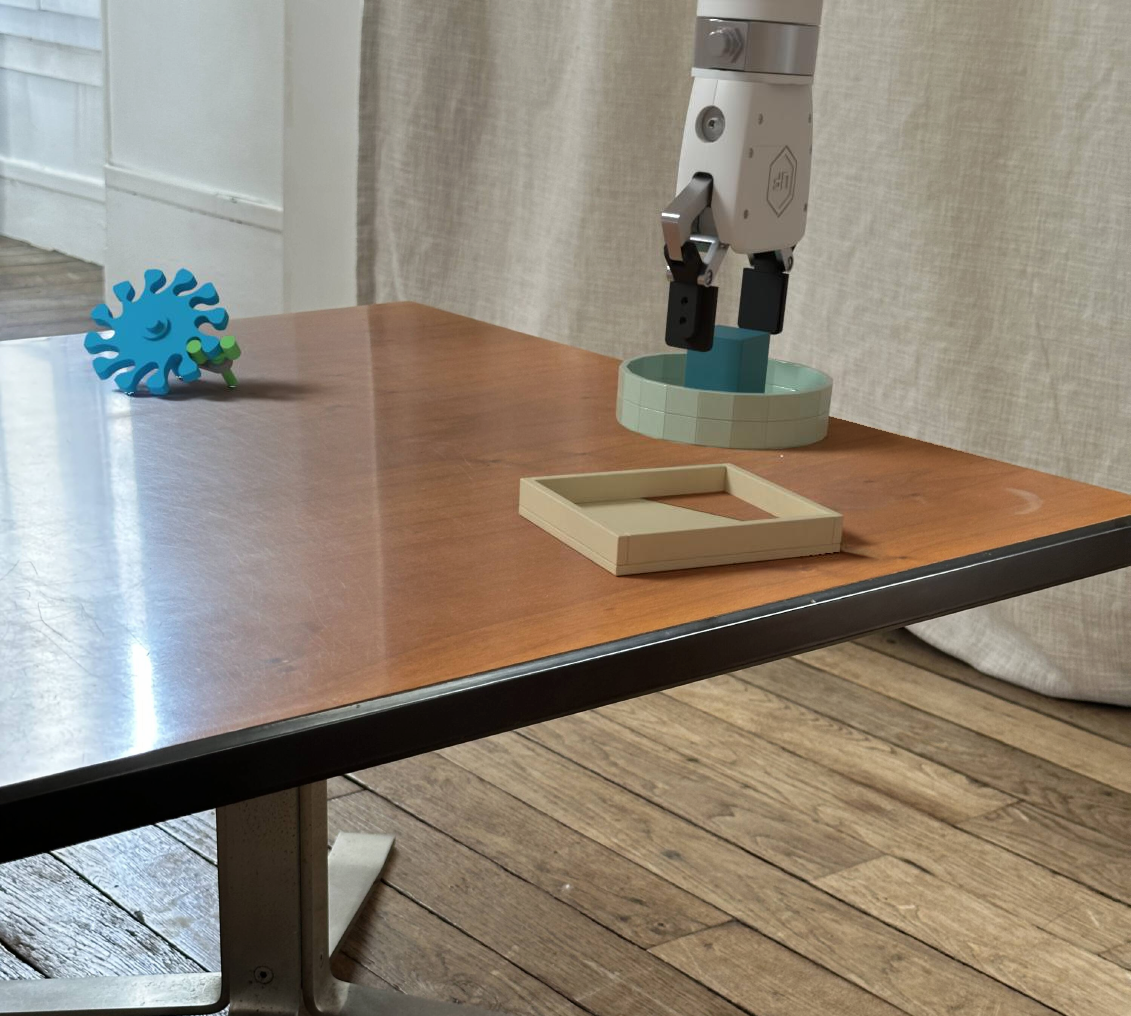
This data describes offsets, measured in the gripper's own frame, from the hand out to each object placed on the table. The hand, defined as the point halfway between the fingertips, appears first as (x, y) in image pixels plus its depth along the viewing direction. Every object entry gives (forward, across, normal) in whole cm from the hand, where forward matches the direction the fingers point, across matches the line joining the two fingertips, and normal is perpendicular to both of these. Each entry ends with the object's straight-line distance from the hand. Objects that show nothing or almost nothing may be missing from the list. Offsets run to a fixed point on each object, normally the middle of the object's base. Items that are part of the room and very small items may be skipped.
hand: (725, 339), depth 105 cm
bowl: (+6, 0, 0) cm, 6 cm away
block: (+6, 0, 0) cm, 6 cm away
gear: (+7, -17, +34) cm, 39 cm away
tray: (+6, -23, -10) cm, 26 cm away
